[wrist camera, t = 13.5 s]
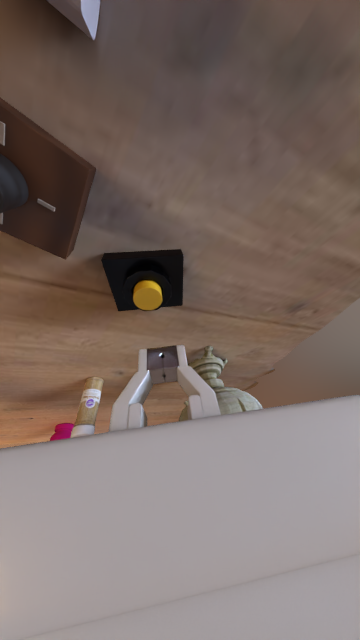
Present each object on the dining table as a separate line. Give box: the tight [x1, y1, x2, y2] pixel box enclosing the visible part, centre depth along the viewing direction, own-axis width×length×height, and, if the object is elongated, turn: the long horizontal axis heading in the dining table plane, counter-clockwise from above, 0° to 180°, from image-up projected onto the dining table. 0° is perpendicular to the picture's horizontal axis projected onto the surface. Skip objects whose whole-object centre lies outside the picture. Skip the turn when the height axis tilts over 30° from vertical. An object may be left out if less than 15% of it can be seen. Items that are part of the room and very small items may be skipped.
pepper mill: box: [50, 423, 74, 441], centre depth 60 cm, size 7×7×20 cm
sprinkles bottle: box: [71, 377, 104, 438], centre depth 42 cm, size 5×5×13 cm
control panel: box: [0, 98, 96, 259], centre depth 16 cm, size 12×10×3 cm
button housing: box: [101, 249, 183, 311], centre depth 26 cm, size 11×9×4 cm
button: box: [133, 280, 162, 310], centre depth 24 cm, size 4×4×2 cm
